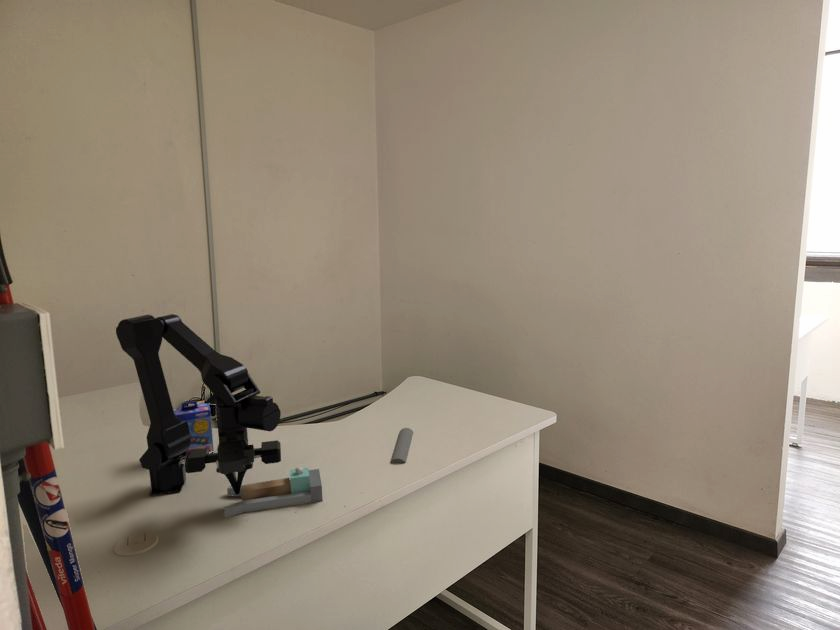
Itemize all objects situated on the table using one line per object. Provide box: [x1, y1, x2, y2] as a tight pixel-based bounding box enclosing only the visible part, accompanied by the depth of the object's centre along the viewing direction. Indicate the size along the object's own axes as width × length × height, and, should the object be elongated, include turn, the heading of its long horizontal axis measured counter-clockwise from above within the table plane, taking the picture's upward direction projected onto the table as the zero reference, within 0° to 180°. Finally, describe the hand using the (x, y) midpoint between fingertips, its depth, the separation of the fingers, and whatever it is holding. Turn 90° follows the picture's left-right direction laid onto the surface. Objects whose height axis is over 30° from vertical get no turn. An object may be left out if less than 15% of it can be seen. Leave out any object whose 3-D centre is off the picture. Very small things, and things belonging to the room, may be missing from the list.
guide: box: [223, 468, 323, 519], centre depth 117 cm, size 20×10×4 cm, turn 105°
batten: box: [241, 477, 291, 502], centre depth 116 cm, size 10×3×4 cm, turn 108°
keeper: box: [289, 466, 310, 494], centre depth 118 cm, size 4×4×6 cm
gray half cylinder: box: [389, 427, 414, 464], centre depth 142 cm, size 4×20×2 cm, turn 175°
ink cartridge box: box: [173, 400, 215, 460], centre depth 139 cm, size 10×6×14 cm, turn 117°
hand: (237, 493), depth 115 cm, fingers closed
